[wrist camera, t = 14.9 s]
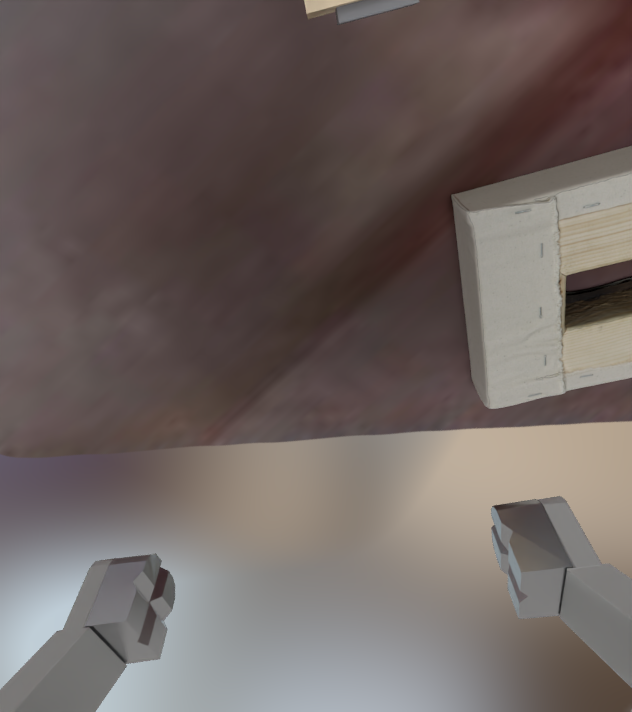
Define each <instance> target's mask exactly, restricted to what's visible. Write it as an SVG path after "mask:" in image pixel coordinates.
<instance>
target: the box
mask: <svg viewBox="0 0 632 712" xmlns="http://www.w3.org/2000/svg"><path fill="white" fill-rule="evenodd" d="M451 198H452V203H453V210H454V220H455V228H456V237H457V246H458V255H459V264H460V273H461V282H462V291H463V300H464V309H465V318H466V327H467V337H468V346H469V355H470V364H471V378H472V381H473V383H474V386H475V388H476V390H477V392H478V395H479V396H480V398H481V400H482V402H483V403H484V405H485V406H486V407H488V408H490V409H496V408H502V407H507V406H512V405H516V404H520V403H524V402H527V401H531V400H535V399H538V398H542V397H547V396H554V395H560V394H564V393H565V392H566V391H567V390H572V389H578V388H582V387H587V386H593V385H597V384H602V383H607V382H612V381H618V380H622V379H627V378H632V281H629V282H626V283H622V284H619V283H621V282H622V281H625V280H632V278H628V279H624V280H621V281H618V282H615V283H612V284H609V285H605V286H600V287H597V288H592V289H599V288H603V289H599V290H596V291H592V292H588V293H582V294H578V295H568V296H566V294H573V293H575V292H566V276H567V275H570V274H574V273H578V272H582V271H586V270H591V269H595V268H598V267H603V266H607V265H612V264H615V263H619V262H624V261H628V260H632V146H629V147H626V148H622V149H618V150H615V151H611V152H607V153H604V154H600V155H596V156H593V157H589V158H585V159H582V160H578V161H575V162H571V163H568V164H564V165H561V166H557V167H553V168H550V169H546V170H542V171H538V172H535V173H531V174H527V175H524V176H520V177H516V178H513V179H509V180H506V181H502V182H498V183H495V184H491V185H487V186H484V187H480V188H476V189H473V190H469V191H465V192H461V193H457V194H453V195H451ZM617 284H618V285H617ZM605 287H606V288H605ZM592 289H588V290H592ZM588 290H583V291H577V292H584V291H588Z"/></svg>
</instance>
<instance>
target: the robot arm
mask: <svg viewBox="0 0 632 712" xmlns="http://www.w3.org/2000/svg"><path fill="white" fill-rule="evenodd" d="M491 516H492V519H493V522H494V524H495V525H494V526H493V527H492V528H491V529H492V541H493V546H494V550H495V554H496V557H497V560H498V563H499V566H500V569H501V570H502V571H503V572H504V573H506V574H507V575H508V591H509V594H510V597H511V599H512V602H513V605H514V607H515V610H516V613H517V615H518V618H519V619H524V618H536V617H549V616H560V619H561V620H562V621H563V622H564V623H565V624H566V625H568V626H569V627H570V628H571V629H572V630H573V631H574V632H575V633H576V634H577V635H578V636H579V637H580V638H581V639H582V640H583V641H584V642H585V643H586V644H587V645H588V646H589V647H590V648H591V649H592V650H593V651H595V653H596V654H597V655H599V657H601V658H602V660H603V661H605V662H606V663H607V664H608V665H609V666H610V667H611V668H612V669H613V670H614V671H615V672H616V673H617V674H618V675H619V676H620V677H621V678H622V679H623V680H624V681H625V682H626V683H627V684H628V685H629V686H630V687H631V688H632V579H631V578H629V577H628V576H626V575H625V574H624V573H622V572H620V571H619V570H618V569H617V568H615V567H613V566H612V565H611V564H602V563H601V562H600V560H599V558H598V556H597V554H596V553H595V551H594V550H593V547H592V546H591V544H590V542H589V541H588V539H587V537H586V535H585V533H584V532H583V530H582V528H581V526H580V524H579V523H578V521H577V519H576V517H575V516H574V514H573V512H572V510H571V509H570V507H569V505H568V503H567V501H566V500H565V499H563V498H562V497H560V496H558V497H551V498H545V499H539V500H536V499H534V500H527V501H521V502H515V503H509V504H502V505H495V506H492V509H491ZM161 562H162V561H161V559H160V558H159V557H158V556H157V554H149V555H141V556H132V557H124V558H114V559H107V560H100V561H95V562H94V564H93V565H92V566H91V567H90V568H89V571H88V573H87V575H86V577H85V580H84V582H83V585H82V587H81V589H80V591H79V594H78V596H77V598H76V601H75V603H74V605H73V607H72V610H71V612H70V614H69V617H68V619H67V621H66V624H65V626H64V628H63V630H60V631H57V632H56V633H55V634H54V635H53V636H52V637H51V638H50V639H49V640H48V641H47V642H46V643H45V644H44V645H43V646H42V647H41V648H40V649H39V650H38V651H37V652H36V653H35V654H34V655H33V656H32V658H31V659H30V660H29V661H28V662H27V663H26V664H25V665H24V666H23V667H22V668H21V669H20V670H19V671H18V672H17V673H16V674H15V675H14V676H13V677H12V678H11V679H10V680H9V681H8V682H7V683H6V684H5V685H4V686H3V688H2V689H1V690H0V712H95V711H96V710H97V708H98V707H99V706H100V704H101V703H102V701H103V700H104V698H105V697H106V695H107V694H108V693H109V691H110V690H111V688H112V687H113V685H114V684H115V683H116V681H117V680H118V678H119V677H120V675H121V674H122V672H123V671H124V670H125V668H126V664H129V663H136V662H143V661H150V660H157V659H160V656H161V653H162V648H163V644H164V641H165V636H166V633H167V627H166V625H165V622H164V620H165V618H166V617H167V616H168V615H169V614H170V612H171V611H172V609H173V604H174V600H175V583H174V580H173V577H172V575H171V574H170V572H169V571H167V570H165V569H163V568H161V567H160V565H161ZM631 712H632V710H631Z"/></svg>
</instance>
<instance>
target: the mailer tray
mask: <svg viewBox="0 0 632 712" xmlns="http://www.w3.org/2000/svg"><path fill="white" fill-rule="evenodd" d="M304 2H305V7H306V13H307V17H308V19H311V18H314V17H318V16H322V15H326V14H329V13H333V12H336V18H337V25H340V24H344V23H347V22H351V21H355V20H359V19H362V18H366V17H370V16H374V15H377V14H381V13H385V12H389V11H393V10H396V9H400V8H404V7H408V6H411V5H414V4H416V3H418V2H419V0H304Z"/></svg>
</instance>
